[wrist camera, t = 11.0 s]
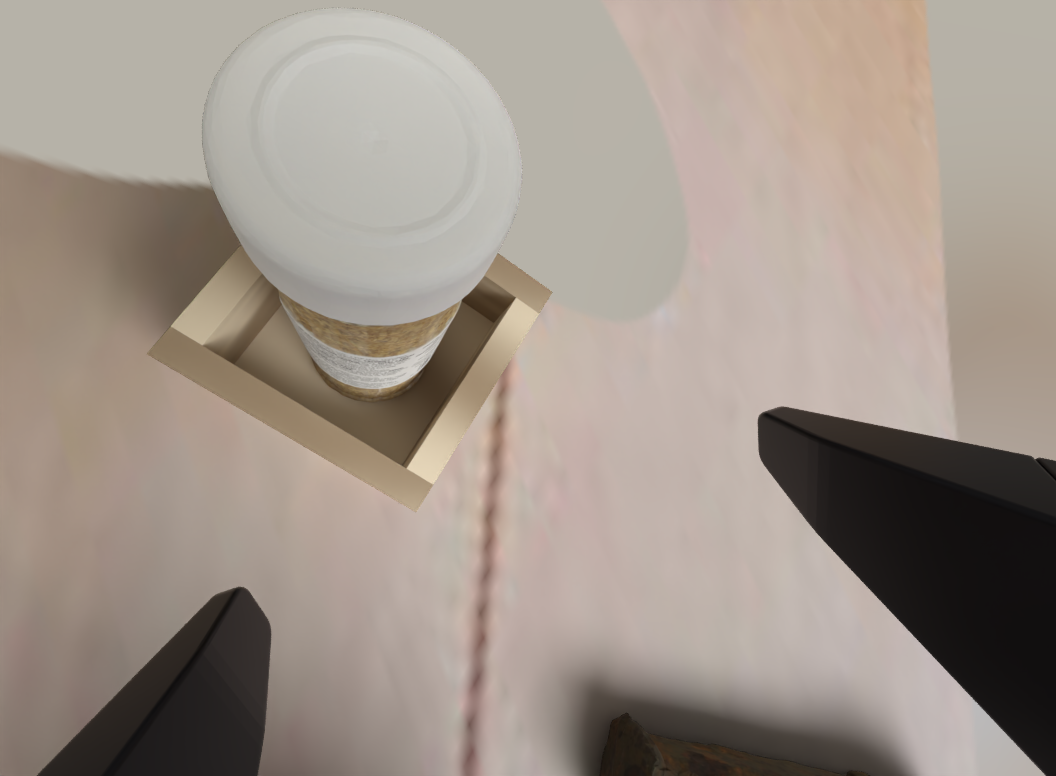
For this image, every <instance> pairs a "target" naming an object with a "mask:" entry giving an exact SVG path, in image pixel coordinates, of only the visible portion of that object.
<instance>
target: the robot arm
mask: <svg viewBox="0 0 1056 776" xmlns="http://www.w3.org/2000/svg"><path fill="white" fill-rule="evenodd" d="M758 446H759V455H760V458H761V461H762V462H763V464H764V466H765V467H766V468H767V470H768V471H769V472H770V474H771V475H772V476H773V478H774V479H775V480H776V481H777V483H778V484H779V485H780V487H781V488H782V489H783V491H784V492H785V493H786V494H787V496H788V497H789V498H790V500H791V501H792V502H793V504H794V505H795V506H796V508H797V509H798V510H799V511H800V513H801V514H802V515H803V517H804V518H805V519H806V521H807V522H808V523H809V524H810V525H811V527H812V528H813V529H814V530H815V532H816V533H817V534H818V535H819V536H820V537H821V538H822V539H823V540H824V542H825V543H826V544H827V545H828V546H829V547H830V548H831V549H832V550H833V551H834V552H835V553H836V554H837V555H838V556H839V557H840V559H841V560H842V561H843V562H844V563H845V564H846V565H847V566H848V567H849V568H850V569H851V570H852V571H853V572H854V573H855V574H856V575H857V577H858V578H859V579H860V580H861V581H862V582H863V583H864V584H865V585H866V586H867V587H868V588H869V589H870V590H871V591H872V592H873V593H874V594H875V596H876V597H877V598H878V599H879V600H880V601H881V602H882V603H883V604H884V605H885V606H886V607H887V608H888V609H889V610H890V611H891V612H892V614H893V615H894V616H895V617H896V618H897V619H898V620H899V621H900V622H901V623H902V624H903V625H904V626H905V627H906V628H907V629H908V630H909V631H910V633H911V634H912V635H913V636H914V637H915V638H916V639H917V640H918V641H919V642H920V643H921V644H922V645H923V646H924V647H925V648H926V649H927V651H928V652H929V653H930V654H931V655H932V656H933V657H934V658H935V659H936V660H937V661H938V662H939V663H940V664H941V665H942V666H943V667H944V669H945V670H946V671H947V672H948V673H949V674H950V675H951V676H952V677H953V678H954V679H955V680H956V681H957V682H958V683H959V684H960V685H961V686H962V688H963V689H964V690H965V691H966V692H967V693H968V694H969V695H970V696H971V697H972V698H973V699H974V700H975V701H976V702H977V703H978V704H979V705H980V707H982V709H983V710H984V711H985V712H986V713H987V714H988V715H989V716H990V717H991V718H992V719H993V720H994V721H995V722H996V723H997V725H998V726H999V727H1000V728H1001V729H1002V730H1003V731H1004V732H1005V733H1006V734H1007V735H1008V736H1009V737H1010V738H1011V739H1012V740H1013V741H1014V742H1015V743H1016V745H1017V746H1018V747H1019V748H1020V749H1021V750H1022V751H1023V752H1024V753H1025V754H1026V755H1027V756H1028V757H1029V758H1030V759H1031V760H1032V762H1034V764H1035V765H1036V766H1037V767H1038V768H1039V769H1040V770H1041V771H1042V772H1043V773H1044V774H1045V775H1046V776H1056V461H1053V460H1049V459H1044V458H1037V459H1034V458H1033V457H1032V456H1028V455H1024V454H1019V453H1013V452H1009V451H1003V450H999V449H993V448H989V447H984V446H978V445H973V444H968V443H963V442H958V441H953V440H948V439H943V438H938V437H933V436H928V435H923V434H918V433H913V432H908V431H903V430H898V429H893V428H888V427H883V426H878V425H874V424H869V423H864V422H859V421H854V420H849V419H844V418H839V417H834V416H829V415H824V414H819V413H814V412H809V411H804V410H799V409H794V408H789V407H777V408H774V409H771V410H768V411H765V412H763V413H761V414H760V415H759V418H758ZM270 647H271V627H270V623H269V621H268V619H267V617H266V616H265V614H264V613H263V611H262V610H261V608H260V607H259V605H258V604H257V602H256V601H255V599H254V598H253V596H252V595H251V593H250V592H249V591H248V590H247V589H246V588H244V587H236V588H233V589H230V590H227V591H224V592H221V593H219V594H216V595H215V596H213V597H212V598H211V599H210V600H209V601H208V602H207V603H206V604H205V605H204V606H203V607H202V608H201V609H200V610H199V611H198V612H197V613H196V614H195V615H194V616H193V617H192V618H191V619H190V620H189V621H188V623H187V624H186V625H185V626H184V627H183V628H182V629H181V630H180V631H179V632H178V633H177V634H176V635H175V636H174V637H173V638H172V639H171V640H170V641H169V642H168V643H167V644H166V645H165V646H164V647H163V648H162V649H161V650H160V651H159V652H158V653H157V654H156V655H155V656H154V657H153V658H152V659H151V660H150V661H149V662H148V663H147V664H146V665H145V666H144V667H143V668H142V669H141V670H140V671H139V672H138V673H137V674H136V675H135V676H134V677H133V678H132V679H131V680H130V681H129V682H128V683H127V684H126V685H125V686H124V687H123V688H122V689H121V690H120V692H119V693H118V694H117V695H116V696H115V697H114V698H113V699H112V700H111V701H110V702H109V703H108V704H107V705H106V706H105V707H104V708H103V709H102V710H101V711H100V712H99V713H98V714H97V715H96V716H95V717H94V718H93V719H92V720H91V721H90V722H89V723H88V724H87V725H86V726H85V727H84V728H83V729H82V730H81V731H80V732H79V733H78V734H77V735H76V736H75V737H74V738H73V739H72V740H71V741H70V742H69V743H68V744H67V745H66V746H65V747H64V748H63V749H62V750H61V751H60V752H59V753H58V754H57V755H56V756H55V757H54V758H53V759H52V761H51V762H50V763H49V764H48V765H47V766H46V767H45V768H44V769H43V770H42V771H41V772H40V773H39V774H38V775H37V776H257V775H258V769H259V763H260V757H261V751H262V745H263V738H264V732H265V721H266V709H267V694H268V678H269V662H270Z"/></svg>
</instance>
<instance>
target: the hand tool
mask: <svg viewBox="0 0 1056 776" xmlns="http://www.w3.org/2000/svg"><path fill="white" fill-rule="evenodd" d="M600 776H870V775H867V774H866V773H864V772H858V771H849V772H848V773H847V774H846V775H842V774H838V773H834V772H830V771H826V770H822V769H818V768H813V767H807V766H803V765H800V764H797V763H794V762H791V761H787V760H774V759H768V758H764V757H760V756H754V755H750V754H748V753H746V752H741V751H737V750H733V749H730V748H727V747H723V746H719V745H716V744H708V745H705V744H701V743H697V742H685V741H680V740H675V739H668V738H664V737H660V736H657V735H653V734H649V733H647V732H646V731H645V730H644V729H643V728H642V727H641V726H640V725H639V724H638V723H637V722H636V721H634V720H632V719H631V717H630V716H629V715H628V713H626V714H624V715H622V716H620V717H618V718H616V719H615V720H613V721H612V723H611V726H610V732H609V737H608V741H607V744H606V746H605V748H604V752H603V757H602V764H601V770H600Z"/></svg>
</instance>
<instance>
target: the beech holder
mask: <svg viewBox="0 0 1056 776" xmlns="http://www.w3.org/2000/svg"><path fill="white" fill-rule="evenodd" d="M551 294H552V291H550V290H549V289H547V288H546V287H545V286H543V285H542V284H540V283H539V282H538V281H536V280H535V279H533V278H532V277H531V276H529V275H528V274H526V273H525V272H524V271H522V270H521V269H519V268H518V267H517V266H515V265H514V264H512V263H511V262H510V261H508V260H507V259H505V258H504V257H503V256H501V255H500V254H498V253H497V255H496V257H495V259H494V261H493V262H492V264H491V265H490V267H489V269H488V270H487V272H486V274H485V275H484V277H483V278H482V279H481V281H480V282H479V283H478V284H477V285H476V286H475V288H474V289H473V290H472V291H471V292H470V293H469V294H467V295H466V296H465V297H464V298H463V299H462V301H461V304H460V306H459V309H458V311H457V313H456V315H455V317H454V318H453V320H452V322H451V323H450V325H449V327H448V329H447V330H446V332H445V334H444V336H443V338H442V340H441V341H440V343H439V345H438V347H437V348H436V350H435V352H434V354H433V355H432V357H431V359H430V361H429V364H428V366H427V368H426V370H425V372H424V374H423V376H422V377H421V378H420V379H419V381H418V382H417V383H416V384H415V385H414V386H413V387H412V388H411V389H410V390H408V391H407V392H405V393H404V394H402V395H400V396H398V397H395V398H393V399H390V400H386V401H378V402H373V403H372V402H364V401H356V400H353V399H351V398H348V397H345V396H343V395H341V394H340V393H339V392H337V391H336V390H334V389H332V388H331V387H329V386H328V385H327V384H326V383H325V381H324V380H323V378H322V377H321V376H320V374H319V373H318V372H317V370H316V368H315V366H314V364H313V361H312V359H311V356H310V354H309V352H308V351H307V349H306V347H305V345H304V344H303V342H302V340H301V338H300V336H299V335H298V333H297V331H296V329H295V327H294V325H293V323H292V321H291V320H290V318H289V316H288V314H287V313H286V311H285V309H284V307H283V305H282V303H281V301H280V298H279V291H278V289H277V288H276V287H275V286H274V285H273V284H272V283H270V282H269V281H268V280H267V278H266V277H265V276H264V275H263V274H262V273H261V271H260V270H259V269H258V268H257V267H256V266H255V264H254V263H253V262H252V260H251V259H250V257H249V256H248V254H247V253H246V251H245V250H244V248H243V246H242V245H240V246H239V247H238V248H237V250H236V251H235V252H234V253H233V254H232V255H231V257H230V258H229V259H228V260H227V261H226V262H225V264H224V265H223V266H222V267H221V268H220V269H219V270H218V272H217V273H216V274H215V275H214V276H213V277H212V279H211V280H210V281H209V282H208V283H207V284H206V286H205V287H204V288H203V289H202V290H201V291H200V293H199V294H198V295H197V296H196V297H195V298H194V300H193V301H192V302H191V303H190V304H189V305H188V307H187V308H186V309H185V310H184V311H183V312H182V314H181V315H180V316H179V317H178V318H177V319H176V320H175V322H174V323H173V324H172V325H171V326H170V327H169V329H168V330H167V331H166V332H165V333H164V334H163V336H162V337H161V338H160V339H159V340H158V341H157V343H156V344H155V345H154V346H153V347H152V348H151V350H150V351H149V352H148V353H147V354H148V355H149V356H151V357H153V358H154V359H156V360H158V361H160V362H161V363H163V364H165V365H166V366H168V367H170V368H171V369H173V370H175V371H177V372H178V373H180V374H182V375H183V376H185V377H187V378H188V379H190V380H192V381H194V382H195V383H197V384H199V385H200V386H202V387H204V388H205V389H207V390H209V391H211V392H212V393H214V394H216V395H217V396H219V397H221V398H222V399H224V400H226V401H228V402H229V403H231V404H233V405H234V406H236V407H238V408H239V409H241V410H243V411H245V412H246V413H248V414H250V415H251V416H253V417H255V418H256V419H258V420H260V421H262V422H263V423H265V424H267V425H268V426H270V427H272V428H273V429H275V430H277V431H279V432H280V433H282V434H284V435H285V436H287V437H289V438H290V439H292V440H294V441H296V442H297V443H299V444H301V445H302V446H304V447H306V448H307V449H309V450H311V451H313V452H314V453H316V454H318V455H319V456H321V457H323V458H324V459H326V460H328V461H330V462H331V463H333V464H335V465H336V466H338V467H340V468H341V469H343V470H345V471H347V472H348V473H350V474H352V475H353V476H355V477H357V478H358V479H360V480H362V481H364V482H365V483H367V484H369V485H370V486H372V487H374V488H375V489H377V490H379V491H381V492H382V493H384V494H386V495H387V496H389V497H391V498H392V499H394V500H396V501H398V502H399V503H401V504H403V505H404V506H406V507H408V508H409V509H411V510H413V511H414V512H417V510H418V509H419V507H420V505H421V504H422V502H423V500H424V499H425V497H426V496H427V494H428V492H429V491H430V489H431V488H432V486H433V484H434V483H435V481H436V479H437V478H438V476H439V475H440V473H441V471H442V470H443V468H444V467H445V465H446V463H447V462H448V460H449V458H450V457H451V455H452V454H453V452H454V450H455V449H456V447H457V446H458V444H459V442H460V441H461V439H462V437H463V436H464V434H465V433H466V431H467V429H468V428H469V426H470V425H471V423H472V421H473V420H474V418H475V416H476V415H477V413H478V412H479V410H480V408H481V407H482V405H483V404H484V402H485V400H486V399H487V397H488V395H489V394H490V392H491V391H492V389H493V387H494V386H495V384H496V383H497V381H498V379H499V378H500V376H501V374H502V373H503V371H504V370H505V368H506V366H507V365H508V363H509V362H510V360H511V358H512V357H513V355H514V353H515V352H516V350H517V349H518V347H519V345H520V344H521V342H522V341H523V339H524V337H525V336H526V334H527V332H528V331H529V329H530V328H531V326H532V324H533V323H534V321H535V320H536V318H537V316H538V315H539V313H540V312H541V310H542V308H543V307H544V305H545V303H546V302H547V300H548V299H549V297H550V295H551Z"/></svg>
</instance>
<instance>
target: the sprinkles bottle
mask: <svg viewBox="0 0 1056 776" xmlns="http://www.w3.org/2000/svg"><path fill="white" fill-rule="evenodd" d="M202 145H203V152H204V158H205V164H206V168H207V173H208V177H209V180H210V183H211V185H212V188H213V190H214V192H215V194H216V197H217V199H218V201H219V203H220V205H221V207H222V209H223V211H224V213H225V215H226V217H227V219H228V221H229V223H230V225H231V227H232V229H233V230H234V232H235V234H236V236H237V237H238V239H239V241H240V243H241V245H242V246H243V248H244V250H245V251H246V253H247V254H248V256H249V257H250V259H251V260H252V262H253V263H254V264H255V266H256V267H257V268H258V269H259V270H260V271H261V273H262V274H263V275H264V276H265V277H266V278H267V280H268V281H269V282H270V283H272V284H273V285H274V286H275V287H276V288H277V289H278V291H279V298H280V301H281V303H282V305H283V307H284V309H285V311H286V313H287V314H288V316H289V318H290V320H291V321H292V323H293V325H294V327H295V329H296V331H297V333H298V335H299V336H300V338H301V340H302V342H303V344H304V345H305V347H306V349H307V351H308V352H309V354H310V356H311V359H312V361H313V364H314V366H315V368H316V370H317V372H318V373H319V374H320V376H321V377H322V378H323V380H324V381H325V383H326V384H327V385H328V386H329V387H331V388H332V389H334V390H336V391H337V392H339V393H340V394H341V395H343V396H345V397H348V398H351V399H353V400H356V401H364V402H372V403H373V402H378V401H386V400H390V399H393V398H395V397H398V396H400V395H402V394H404V393H405V392H407V391H408V390H410V389H411V388H412V387H413V386H414V385H415V384H416V383H417V382H418V381H419V379H420V378H421V377H422V376H423V374H424V372H425V370H426V368H427V366H428V364H429V361H430V359H431V357H432V355H433V354H434V352H435V350H436V348H437V347H438V345H439V343H440V341H441V340H442V338H443V336H444V334H445V332H446V330H447V329H448V327H449V325H450V323H451V322H452V320H453V318H454V317H455V315H456V313H457V311H458V309H459V306H460V304H461V301H462V299H463V298H464V297H465V296H466V295H467V294H469V293H470V292H471V291H472V290H473V289H474V288H475V286H476V285H477V284H478V283H479V282H480V281H481V279H482V278H483V277H484V275H485V274H486V272H487V270H488V269H489V267H490V265H491V264H492V262H493V261H494V259H495V257H496V255H497V253H498V251H499V250H500V248H501V246H502V244H503V242H504V240H505V238H506V236H507V234H508V232H509V229H510V227H511V225H512V223H513V220H514V218H515V215H516V211H517V207H518V203H519V199H520V192H521V185H522V163H521V153H520V148H519V143H518V139H517V135H516V132H515V129H514V126H513V124H512V120H511V118H510V116H509V113H508V111H507V110H506V108H505V106H504V104H503V103H502V101H501V99H500V97H499V95H498V94H497V92H496V91H495V89H494V88H493V86H492V85H491V83H490V82H489V81H488V80H487V78H486V77H485V76H484V75H483V74H482V72H481V71H480V70H479V69H478V68H477V67H476V66H475V65H474V64H473V63H472V62H471V61H470V60H469V59H468V58H467V57H466V56H465V55H463V54H462V53H461V52H460V51H459V50H457V49H456V48H455V47H453V46H452V45H451V44H449V43H447V42H446V41H445V40H443V39H442V38H441V37H439V36H437V35H435V34H434V33H432V32H429V31H428V30H426V29H424V28H422V27H420V26H418V25H416V24H414V23H412V22H410V21H407V20H405V19H402V18H399V17H396V16H393V15H389V14H385V13H381V12H377V11H373V10H365V9H356V8H327V9H326V8H325V9H316V10H310V11H305V12H300V13H296V14H293V15H290V16H288V17H285V18H282V19H279V20H277V21H274V22H272V23H270V24H268V25H266V26H264V27H262V28H261V29H259V30H258V31H257V32H255V33H254V34H253V35H251V36H250V37H249V38H247V39H246V40H245V41H244V42H242V43H241V44H240V45H239V46H238V47H237V48H236V49H235V50H234V51H233V53H232V54H231V55H230V56H229V57H228V58H227V60H226V61H225V62H224V63H223V65H222V67H221V68H220V70H219V72H218V73H217V75H216V77H215V78H214V81H213V84H212V86H211V88H210V90H209V93H208V96H207V100H206V103H205V108H204V113H203V120H202Z"/></svg>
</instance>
